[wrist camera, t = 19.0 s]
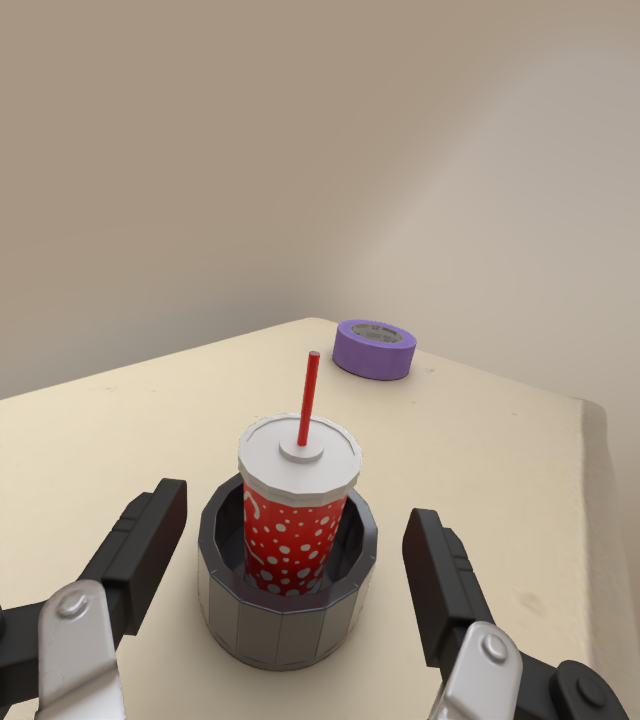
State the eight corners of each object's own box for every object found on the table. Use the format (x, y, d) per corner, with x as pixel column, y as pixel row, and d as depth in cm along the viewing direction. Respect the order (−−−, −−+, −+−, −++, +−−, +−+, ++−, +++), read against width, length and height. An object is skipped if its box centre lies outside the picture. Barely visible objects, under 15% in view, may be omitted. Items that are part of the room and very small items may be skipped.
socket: (353, 700, 16) (372, 642, 14) (162, 637, 17) (158, 577, 15) (367, 530, 25) (380, 482, 23) (240, 497, 26) (243, 448, 24)
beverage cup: (243, 521, 23) (257, 322, 18) (334, 531, 24) (375, 338, 18) (217, 620, 18) (225, 374, 12) (336, 632, 18) (396, 396, 12)
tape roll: (423, 370, 54) (432, 339, 52) (376, 388, 46) (384, 353, 44) (365, 343, 61) (371, 316, 59) (316, 355, 53) (321, 324, 51)
